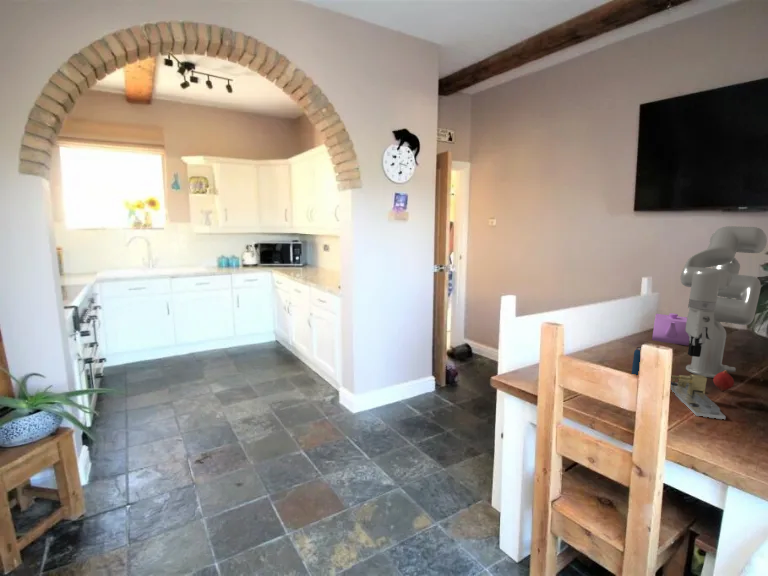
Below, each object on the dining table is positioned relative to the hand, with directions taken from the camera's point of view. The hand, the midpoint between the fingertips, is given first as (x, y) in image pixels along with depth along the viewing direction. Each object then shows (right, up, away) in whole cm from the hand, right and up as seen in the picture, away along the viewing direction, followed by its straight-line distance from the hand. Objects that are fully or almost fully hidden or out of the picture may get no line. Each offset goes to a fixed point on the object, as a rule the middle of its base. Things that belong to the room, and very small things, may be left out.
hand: (693, 355), depth 145 cm
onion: (+14, -14, +5) cm, 20 cm away
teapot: (+38, -3, +66) cm, 76 cm away
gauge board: (-3, -15, -4) cm, 16 cm away
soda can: (-9, -12, +15) cm, 21 cm away
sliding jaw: (-3, -13, -2) cm, 14 cm away
